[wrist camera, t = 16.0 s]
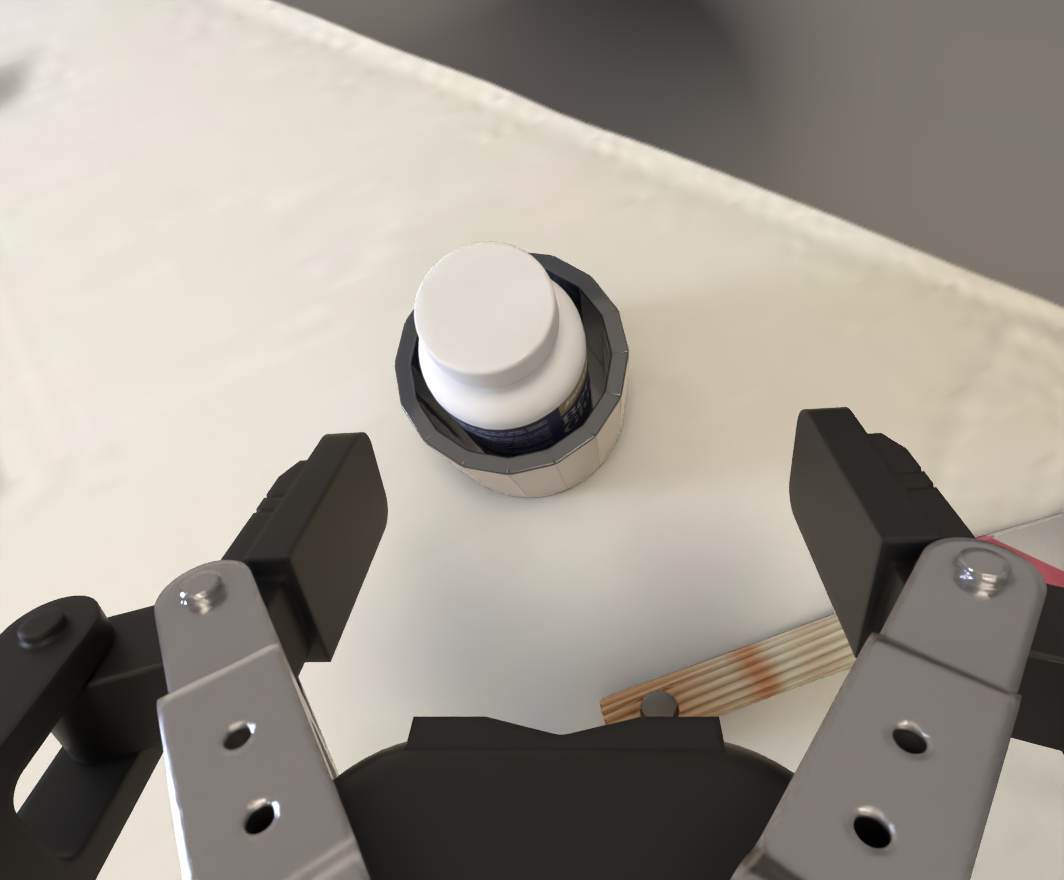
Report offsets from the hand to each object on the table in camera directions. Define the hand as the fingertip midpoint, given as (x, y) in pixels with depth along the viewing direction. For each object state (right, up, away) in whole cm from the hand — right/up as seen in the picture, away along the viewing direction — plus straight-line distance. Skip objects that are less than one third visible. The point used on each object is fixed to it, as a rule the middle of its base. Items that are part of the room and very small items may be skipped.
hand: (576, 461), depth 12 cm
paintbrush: (+11, -7, +12) cm, 18 cm away
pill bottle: (-1, +2, +15) cm, 15 cm away
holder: (-1, +2, +16) cm, 16 cm away
